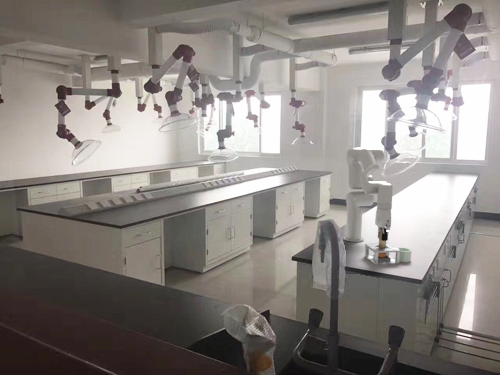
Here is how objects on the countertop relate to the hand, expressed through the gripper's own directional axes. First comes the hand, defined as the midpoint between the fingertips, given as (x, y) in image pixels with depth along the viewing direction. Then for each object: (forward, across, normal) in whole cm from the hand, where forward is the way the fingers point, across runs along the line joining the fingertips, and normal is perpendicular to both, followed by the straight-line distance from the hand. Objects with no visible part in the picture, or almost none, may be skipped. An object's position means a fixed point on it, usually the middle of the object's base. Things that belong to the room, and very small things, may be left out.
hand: (382, 239), depth 217 cm
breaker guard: (+12, 0, 0) cm, 12 cm away
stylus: (+7, 0, 0) cm, 7 cm away
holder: (+12, +2, +12) cm, 17 cm away
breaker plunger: (+10, 0, 0) cm, 10 cm away
